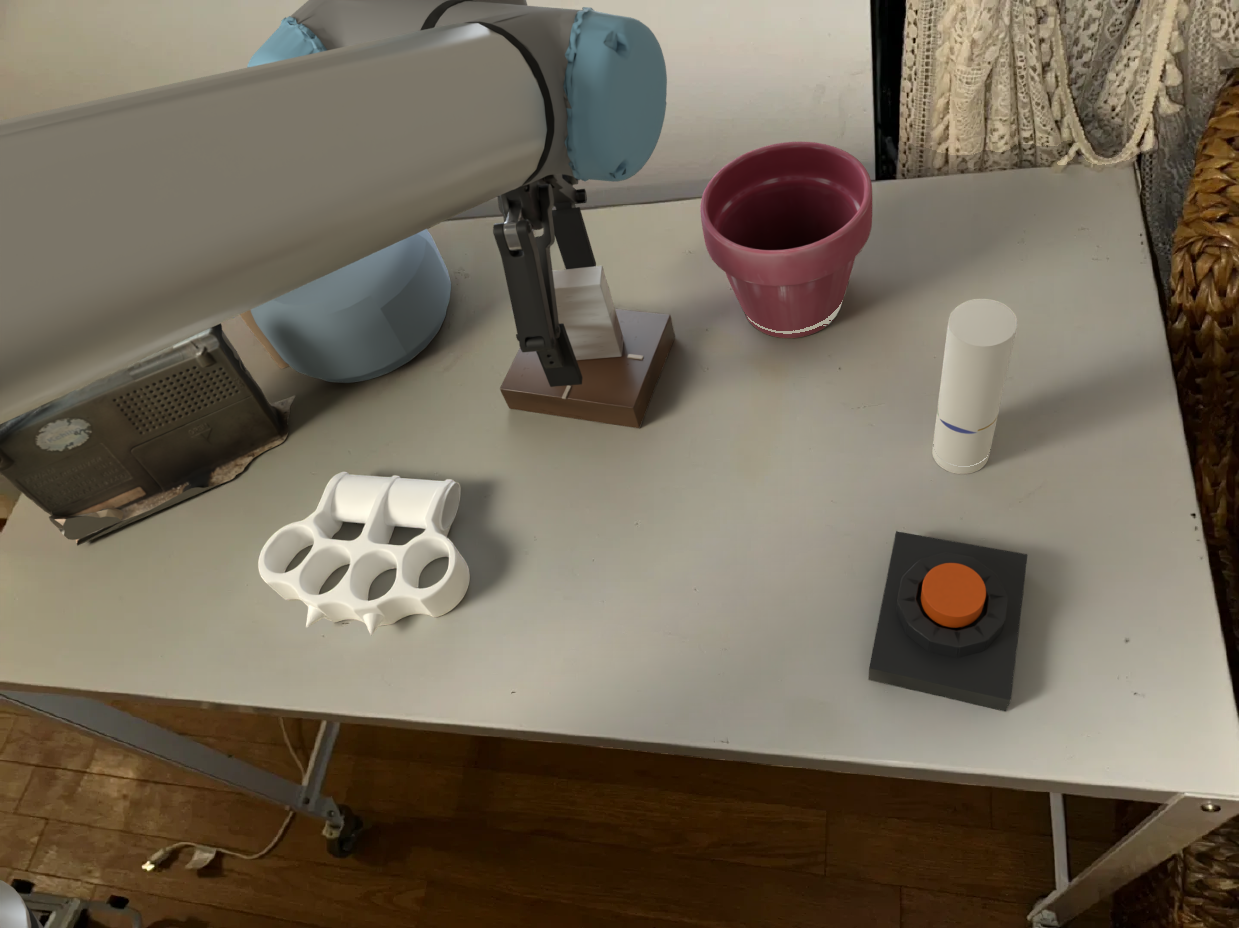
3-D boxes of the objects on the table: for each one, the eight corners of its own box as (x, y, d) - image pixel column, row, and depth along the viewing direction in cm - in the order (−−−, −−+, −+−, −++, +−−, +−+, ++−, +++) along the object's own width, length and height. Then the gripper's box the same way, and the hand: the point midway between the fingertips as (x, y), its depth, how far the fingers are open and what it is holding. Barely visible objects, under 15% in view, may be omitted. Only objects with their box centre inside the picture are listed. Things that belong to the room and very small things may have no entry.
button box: (1006, 712, 61) (1015, 690, 58) (868, 680, 64) (869, 657, 61) (1022, 568, 66) (1031, 541, 63) (894, 545, 69) (897, 518, 66)
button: (979, 633, 61) (982, 622, 59) (916, 620, 62) (918, 609, 61) (986, 581, 63) (989, 568, 61) (925, 569, 64) (927, 557, 63)
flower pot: (740, 243, 92) (726, 133, 81) (883, 256, 87) (888, 141, 76) (698, 350, 85) (677, 245, 74) (851, 371, 80) (852, 262, 69)
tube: (976, 424, 74) (1001, 291, 62) (998, 466, 72) (1028, 336, 60) (924, 437, 74) (938, 308, 62) (943, 479, 72) (962, 353, 60)
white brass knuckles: (498, 496, 80) (447, 653, 72) (319, 483, 85) (253, 628, 77) (486, 475, 77) (431, 636, 69) (301, 462, 82) (231, 611, 74)
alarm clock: (336, 245, 105) (284, 157, 95) (487, 266, 97) (448, 173, 88) (243, 372, 95) (174, 289, 86) (401, 406, 88) (347, 319, 78)
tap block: (639, 429, 81) (632, 407, 78) (508, 409, 85) (498, 388, 83) (675, 335, 86) (670, 312, 84) (551, 321, 91) (542, 298, 88)
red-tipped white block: (623, 338, 83) (601, 263, 76) (622, 356, 82) (599, 281, 74) (549, 344, 85) (521, 271, 77) (546, 362, 83) (517, 290, 76)
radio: (295, 395, 92) (213, 288, 80) (306, 457, 87) (219, 353, 75) (76, 483, 91) (-41, 389, 79) (73, 552, 86) (-52, 462, 74)
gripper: (478, 18, 71) (548, 230, 88) (415, 237, 57) (514, 439, 74) (572, 2, 69) (625, 221, 86) (531, 224, 55) (605, 434, 72)
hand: (574, 322), depth 80 cm, fingers open, 13 cm apart
